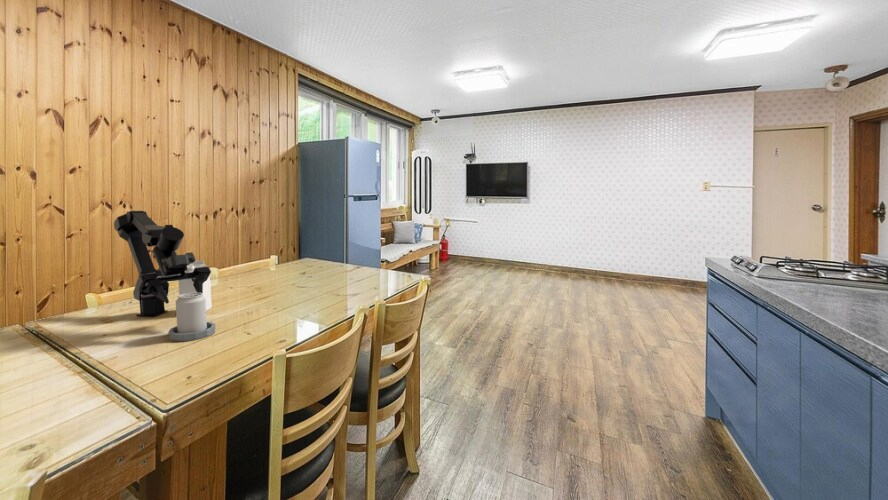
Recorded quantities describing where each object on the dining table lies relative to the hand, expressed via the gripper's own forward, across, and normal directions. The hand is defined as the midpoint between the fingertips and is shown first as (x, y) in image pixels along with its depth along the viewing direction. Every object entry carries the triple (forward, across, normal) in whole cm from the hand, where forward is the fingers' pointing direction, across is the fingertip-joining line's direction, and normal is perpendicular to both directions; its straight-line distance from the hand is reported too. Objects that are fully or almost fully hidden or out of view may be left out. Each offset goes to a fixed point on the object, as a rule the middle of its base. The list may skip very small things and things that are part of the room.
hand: (185, 299), depth 114 cm
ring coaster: (+10, 0, +4) cm, 11 cm away
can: (+10, 0, +4) cm, 11 cm away
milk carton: (-6, +11, +22) cm, 25 cm away
